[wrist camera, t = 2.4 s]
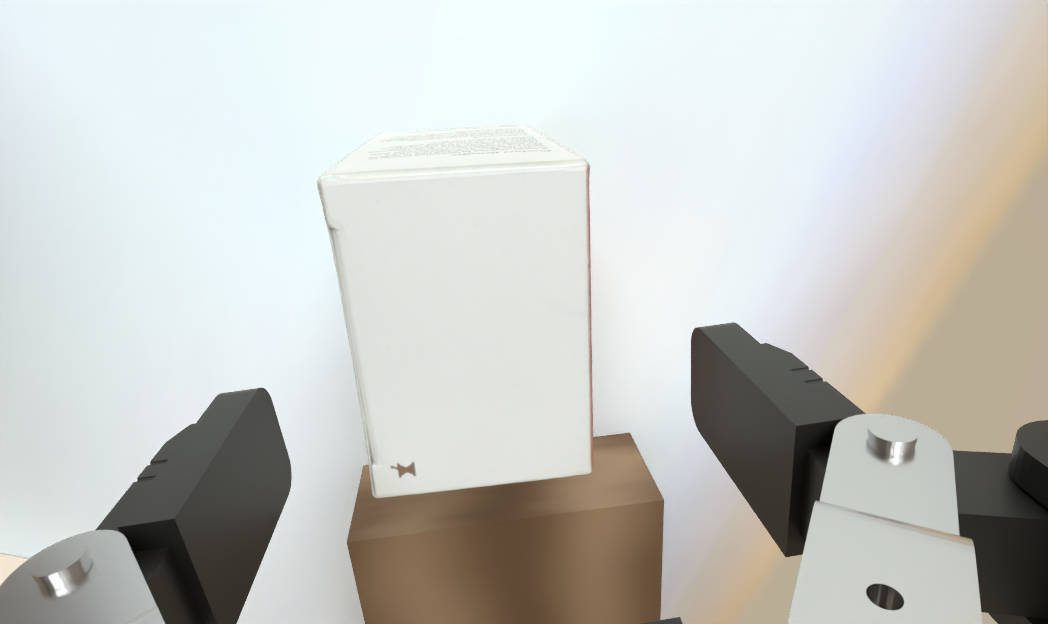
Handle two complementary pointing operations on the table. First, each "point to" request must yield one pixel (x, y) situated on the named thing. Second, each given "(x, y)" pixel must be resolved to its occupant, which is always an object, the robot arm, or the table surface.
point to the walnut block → (516, 548)
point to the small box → (466, 305)
